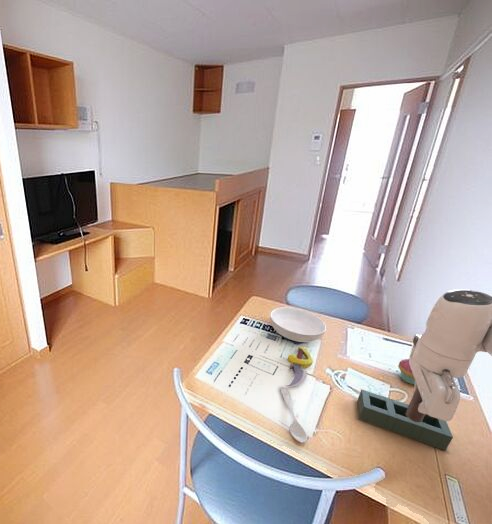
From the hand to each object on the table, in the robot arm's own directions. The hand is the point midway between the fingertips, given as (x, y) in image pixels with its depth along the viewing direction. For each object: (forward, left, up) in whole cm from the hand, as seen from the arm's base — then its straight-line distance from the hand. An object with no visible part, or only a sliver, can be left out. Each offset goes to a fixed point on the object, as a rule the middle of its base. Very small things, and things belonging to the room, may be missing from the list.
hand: (419, 404), depth 73 cm
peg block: (-2, -11, -17) cm, 20 cm away
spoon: (+25, +1, -17) cm, 31 cm away
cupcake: (-9, -35, -17) cm, 40 cm away
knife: (+25, -21, -17) cm, 37 cm away
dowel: (0, 0, -4) cm, 4 cm away
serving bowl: (+28, -44, -17) cm, 55 cm away
